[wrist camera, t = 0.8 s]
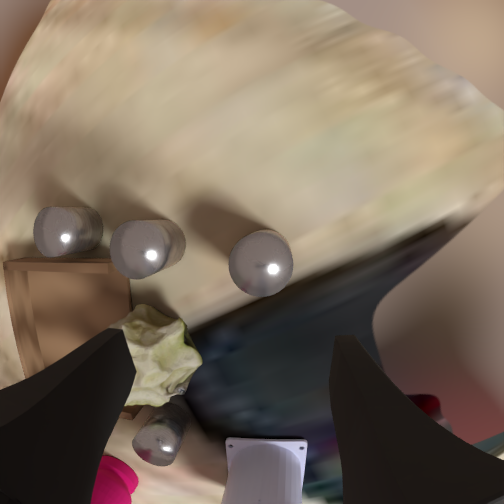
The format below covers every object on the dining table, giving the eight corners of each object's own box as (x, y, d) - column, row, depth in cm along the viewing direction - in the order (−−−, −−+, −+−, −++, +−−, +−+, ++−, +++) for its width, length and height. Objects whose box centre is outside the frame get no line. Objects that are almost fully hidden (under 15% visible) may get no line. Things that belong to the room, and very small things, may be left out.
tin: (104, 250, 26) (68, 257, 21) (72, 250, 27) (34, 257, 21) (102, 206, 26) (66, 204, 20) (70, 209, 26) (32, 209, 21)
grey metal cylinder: (291, 279, 25) (293, 296, 19) (241, 279, 25) (229, 296, 20) (290, 229, 24) (293, 232, 19) (240, 229, 25) (227, 233, 19)
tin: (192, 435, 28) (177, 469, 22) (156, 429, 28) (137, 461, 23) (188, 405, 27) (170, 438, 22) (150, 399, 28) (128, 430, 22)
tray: (146, 401, 28) (132, 420, 24) (46, 378, 29) (29, 390, 26) (127, 257, 26) (107, 263, 23) (24, 257, 27) (2, 262, 24)
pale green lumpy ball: (117, 371, 28) (68, 398, 20) (133, 285, 28) (78, 292, 20) (200, 408, 27) (165, 451, 19) (223, 318, 26) (190, 340, 18)
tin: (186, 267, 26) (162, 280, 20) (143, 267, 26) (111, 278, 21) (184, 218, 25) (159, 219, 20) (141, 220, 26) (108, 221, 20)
